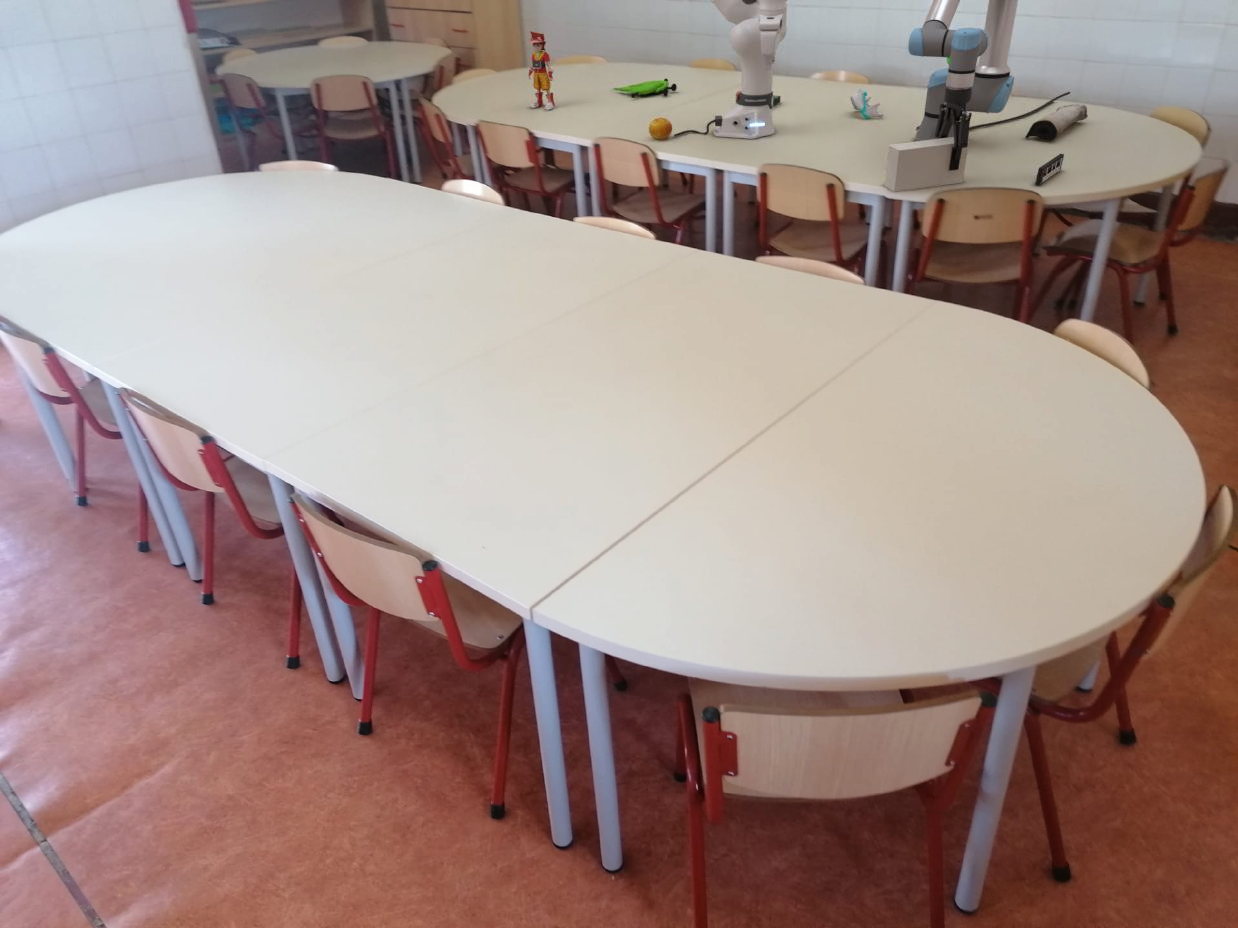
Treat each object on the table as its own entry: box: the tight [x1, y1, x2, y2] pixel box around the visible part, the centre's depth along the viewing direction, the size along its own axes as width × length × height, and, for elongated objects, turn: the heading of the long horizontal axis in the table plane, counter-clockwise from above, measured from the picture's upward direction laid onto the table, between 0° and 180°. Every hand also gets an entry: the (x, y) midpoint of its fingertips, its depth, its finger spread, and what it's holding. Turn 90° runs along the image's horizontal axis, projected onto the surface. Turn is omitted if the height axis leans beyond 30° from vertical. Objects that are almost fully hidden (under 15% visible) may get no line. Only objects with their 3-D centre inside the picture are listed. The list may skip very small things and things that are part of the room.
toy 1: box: [527, 31, 556, 111], centre depth 374 cm, size 12×9×30 cm
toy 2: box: [612, 78, 677, 99], centre depth 396 cm, size 28×5×30 cm
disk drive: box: [772, 94, 781, 107], centre depth 365 cm, size 10×3×15 cm
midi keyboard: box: [1035, 153, 1065, 186], centre depth 273 cm, size 18×1×5 cm, turn 138°
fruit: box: [648, 117, 673, 140], centre depth 332 cm, size 8×8×8 cm
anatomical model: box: [850, 88, 884, 120], centre depth 343 cm, size 15×10×10 cm
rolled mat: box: [1024, 103, 1089, 142], centre depth 314 cm, size 30×9×10 cm
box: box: [883, 137, 970, 193], centre depth 273 cm, size 23×6×12 cm, turn 103°
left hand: (770, 66), depth 289 cm, fingers open, 8 cm apart
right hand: (946, 166), depth 275 cm, fingers open, 7 cm apart
